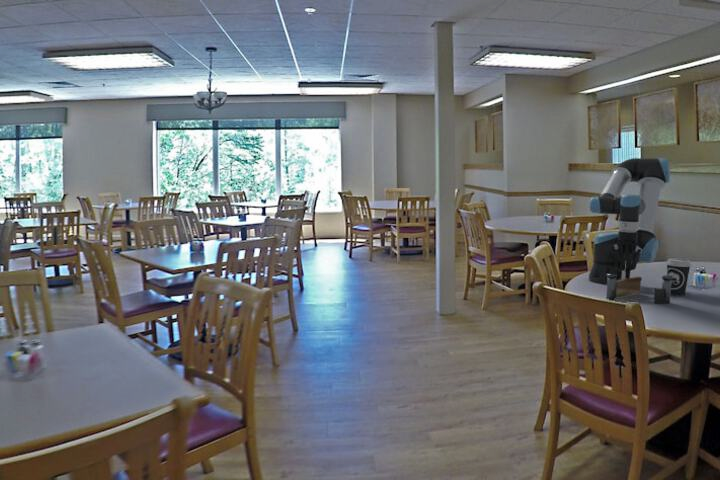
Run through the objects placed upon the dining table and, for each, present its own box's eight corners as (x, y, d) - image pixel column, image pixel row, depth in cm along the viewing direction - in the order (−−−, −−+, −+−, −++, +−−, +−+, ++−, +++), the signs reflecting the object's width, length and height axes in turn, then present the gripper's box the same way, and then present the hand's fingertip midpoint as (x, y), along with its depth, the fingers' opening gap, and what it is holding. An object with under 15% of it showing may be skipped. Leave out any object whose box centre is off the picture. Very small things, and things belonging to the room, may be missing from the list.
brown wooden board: (611, 297, 233) (612, 281, 232) (636, 292, 242) (637, 276, 241) (615, 298, 232) (616, 282, 231) (640, 293, 240) (641, 277, 239)
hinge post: (604, 298, 234) (605, 273, 233) (614, 298, 233) (616, 273, 232) (606, 300, 230) (607, 275, 229) (616, 301, 229) (618, 275, 228)
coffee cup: (692, 297, 234) (695, 262, 232) (667, 296, 236) (670, 261, 234) (684, 291, 244) (686, 258, 241) (660, 290, 245) (662, 257, 243)
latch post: (651, 300, 230) (653, 274, 228) (669, 301, 228) (671, 275, 226) (654, 303, 225) (656, 277, 224) (672, 304, 224) (674, 278, 222)
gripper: (609, 230, 239) (605, 283, 242) (639, 233, 229) (635, 289, 232) (617, 228, 243) (613, 281, 247) (647, 231, 233) (643, 286, 237)
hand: (624, 285), depth 239 cm, fingers closed
